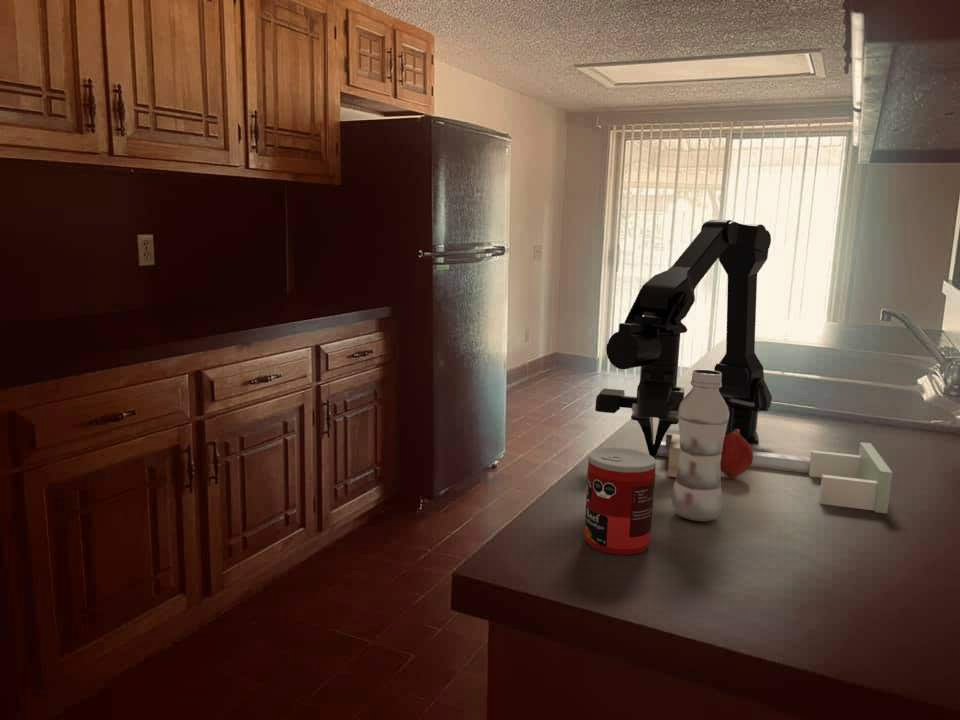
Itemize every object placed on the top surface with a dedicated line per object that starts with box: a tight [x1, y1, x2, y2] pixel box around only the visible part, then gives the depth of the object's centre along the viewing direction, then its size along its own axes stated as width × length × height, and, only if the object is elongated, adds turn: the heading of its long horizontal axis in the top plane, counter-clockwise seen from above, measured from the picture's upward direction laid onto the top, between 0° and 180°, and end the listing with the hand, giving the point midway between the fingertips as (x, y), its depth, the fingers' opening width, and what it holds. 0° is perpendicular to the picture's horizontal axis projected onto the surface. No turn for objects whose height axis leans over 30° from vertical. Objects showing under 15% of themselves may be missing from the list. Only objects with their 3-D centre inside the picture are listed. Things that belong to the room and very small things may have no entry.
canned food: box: [584, 447, 657, 556], centre depth 88 cm, size 8×8×11 cm
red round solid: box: [721, 429, 754, 479], centre depth 114 cm, size 6×6×8 cm
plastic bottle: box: [671, 368, 729, 522], centre depth 96 cm, size 6×7×20 cm
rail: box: [654, 439, 810, 474], centre depth 122 cm, size 2×31×2 cm, turn 72°
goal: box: [807, 441, 893, 515], centre depth 109 cm, size 15×8×6 cm, turn 162°
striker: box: [665, 426, 680, 478], centre depth 119 cm, size 14×5×5 cm, turn 162°
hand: (652, 456), depth 118 cm, fingers closed
